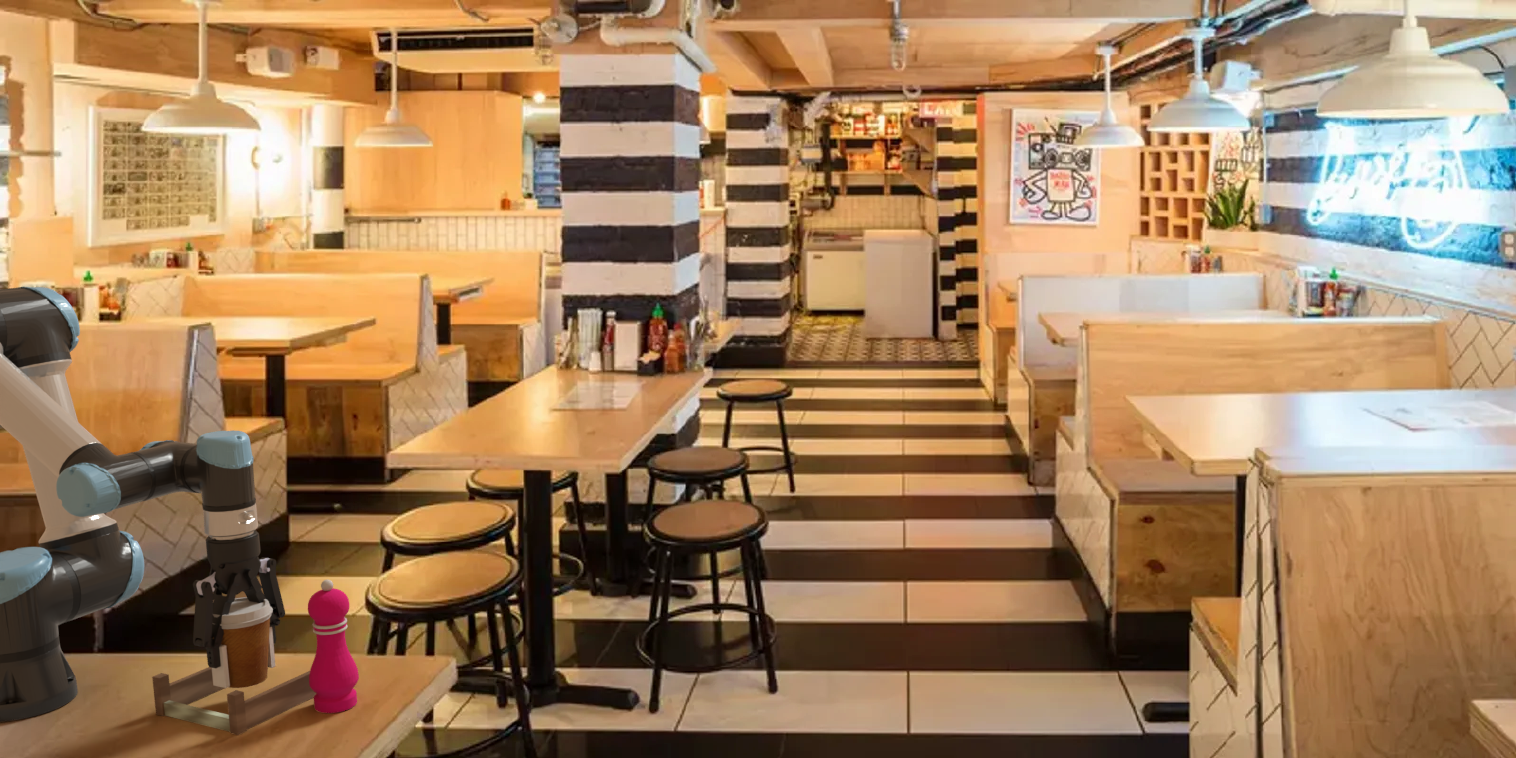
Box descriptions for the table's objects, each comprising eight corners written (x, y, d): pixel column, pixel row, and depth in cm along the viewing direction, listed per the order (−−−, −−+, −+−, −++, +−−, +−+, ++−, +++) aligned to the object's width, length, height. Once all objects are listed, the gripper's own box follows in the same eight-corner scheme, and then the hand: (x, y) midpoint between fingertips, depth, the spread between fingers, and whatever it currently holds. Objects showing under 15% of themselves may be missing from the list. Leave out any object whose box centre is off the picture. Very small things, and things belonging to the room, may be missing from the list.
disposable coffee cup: (255, 694, 189) (248, 617, 188) (198, 690, 191) (191, 615, 189) (290, 670, 199) (284, 597, 197) (236, 667, 200) (230, 594, 199)
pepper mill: (337, 692, 198) (328, 570, 195) (370, 701, 195) (362, 576, 192) (300, 709, 192) (290, 583, 189) (334, 718, 189) (324, 590, 185)
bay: (155, 714, 191) (152, 676, 190) (262, 667, 209) (259, 633, 208) (238, 735, 183) (234, 695, 182) (341, 684, 201) (338, 648, 200)
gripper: (191, 554, 180) (205, 704, 184) (302, 518, 199) (314, 656, 202) (155, 548, 184) (170, 696, 187) (268, 514, 202) (280, 649, 206)
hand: (244, 675), depth 195 cm, fingers closed on disposable coffee cup, 8 cm apart
